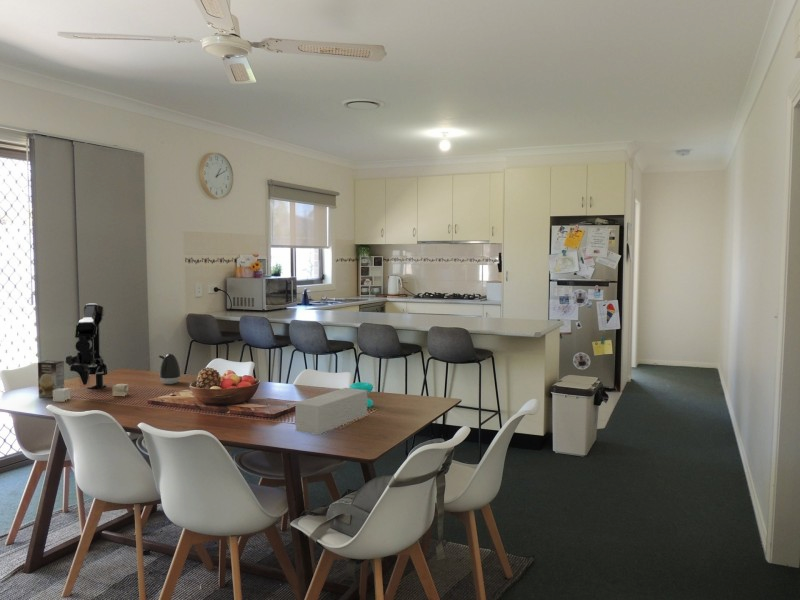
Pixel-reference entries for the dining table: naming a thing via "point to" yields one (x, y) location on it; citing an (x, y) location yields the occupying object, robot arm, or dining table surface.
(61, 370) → the coffee box
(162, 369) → the pump dispenser
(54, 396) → the offwhite block
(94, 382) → the terracotta block
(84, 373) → the robot arm
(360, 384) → the donuts
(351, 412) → the stack of papers
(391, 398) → the dining table surface
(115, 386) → the maple block
